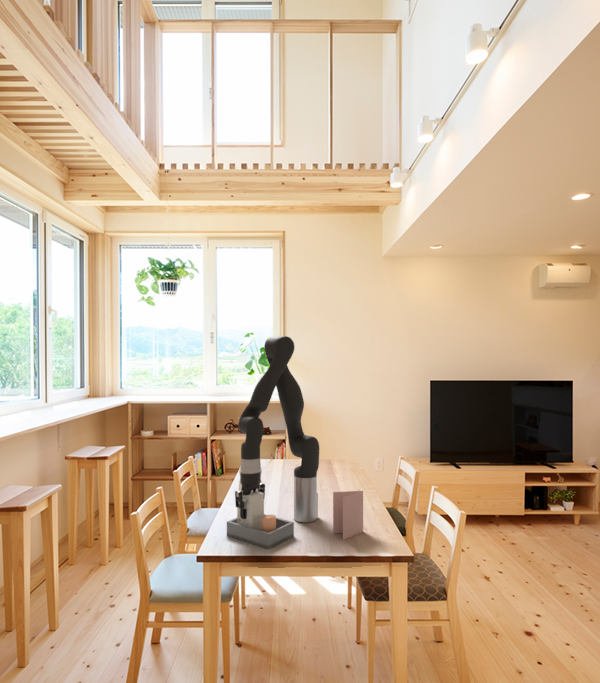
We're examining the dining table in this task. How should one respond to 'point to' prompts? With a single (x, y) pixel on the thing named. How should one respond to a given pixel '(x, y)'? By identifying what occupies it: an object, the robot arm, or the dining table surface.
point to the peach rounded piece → (268, 523)
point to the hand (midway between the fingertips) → (250, 515)
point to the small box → (253, 511)
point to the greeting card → (348, 513)
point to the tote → (261, 533)
